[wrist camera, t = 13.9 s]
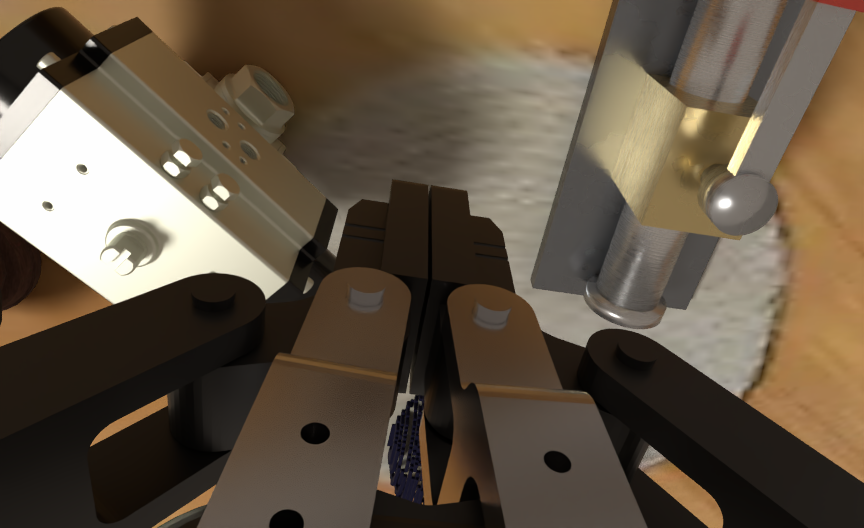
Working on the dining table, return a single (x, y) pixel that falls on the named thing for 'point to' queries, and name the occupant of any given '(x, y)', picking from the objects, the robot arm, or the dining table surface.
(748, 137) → the valve lever
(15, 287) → the black ball on base
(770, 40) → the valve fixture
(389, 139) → the dining table surface
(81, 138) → the ball valve
